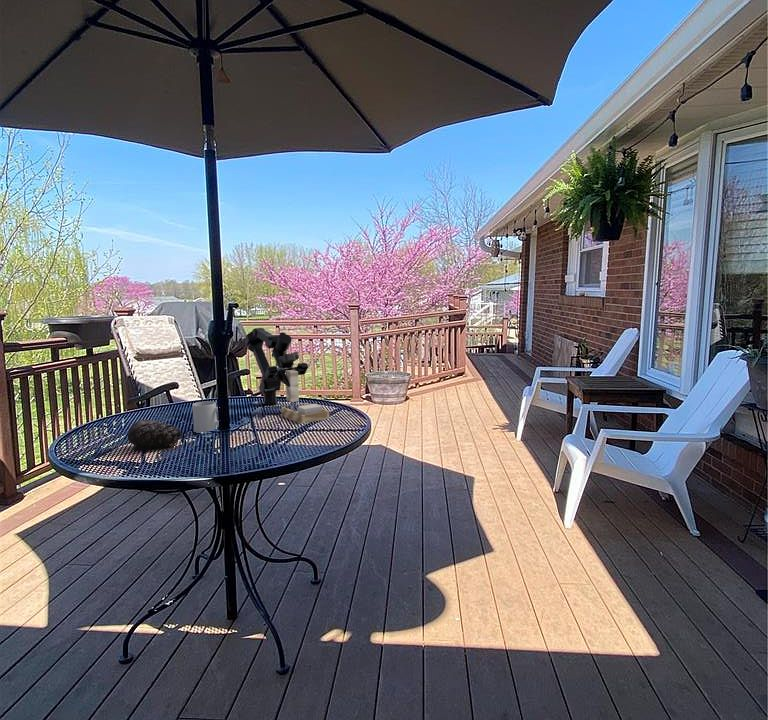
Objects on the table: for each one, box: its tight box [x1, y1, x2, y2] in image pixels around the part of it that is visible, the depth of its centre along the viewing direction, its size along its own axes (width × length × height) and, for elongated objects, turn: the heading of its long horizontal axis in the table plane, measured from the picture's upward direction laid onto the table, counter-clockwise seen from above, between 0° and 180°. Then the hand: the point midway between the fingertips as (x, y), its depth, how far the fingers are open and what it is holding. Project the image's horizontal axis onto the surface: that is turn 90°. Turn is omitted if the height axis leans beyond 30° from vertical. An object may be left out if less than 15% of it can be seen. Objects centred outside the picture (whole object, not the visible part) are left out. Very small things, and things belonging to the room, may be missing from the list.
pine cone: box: [126, 419, 182, 451], centre depth 166 cm, size 10×18×10 cm, turn 97°
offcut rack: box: [279, 402, 332, 425], centre depth 200 cm, size 20×14×4 cm
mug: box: [192, 400, 220, 433], centre depth 183 cm, size 12×8×11 cm
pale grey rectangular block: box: [285, 370, 300, 403], centre depth 208 cm, size 5×4×13 cm
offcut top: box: [297, 403, 323, 415], centre depth 196 cm, size 6×8×2 cm
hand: (293, 385), depth 206 cm, fingers closed on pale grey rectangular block, 3 cm apart
